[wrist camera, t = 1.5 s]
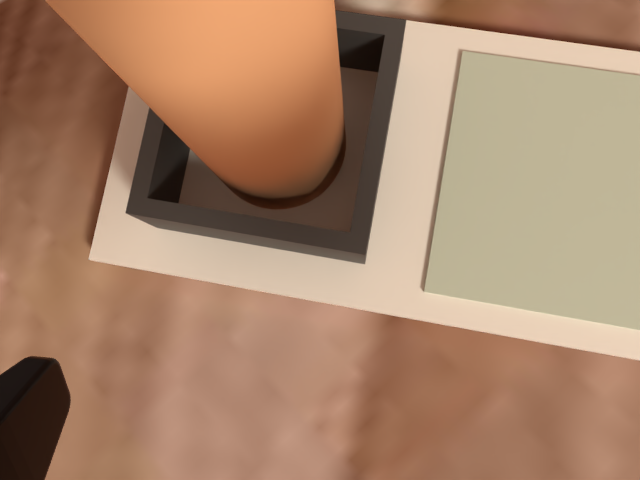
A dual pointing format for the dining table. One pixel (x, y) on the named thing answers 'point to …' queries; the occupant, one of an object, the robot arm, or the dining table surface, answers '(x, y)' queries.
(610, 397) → the dining table surface
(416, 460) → the dining table surface
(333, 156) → the tall peach cylinder
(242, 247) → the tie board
